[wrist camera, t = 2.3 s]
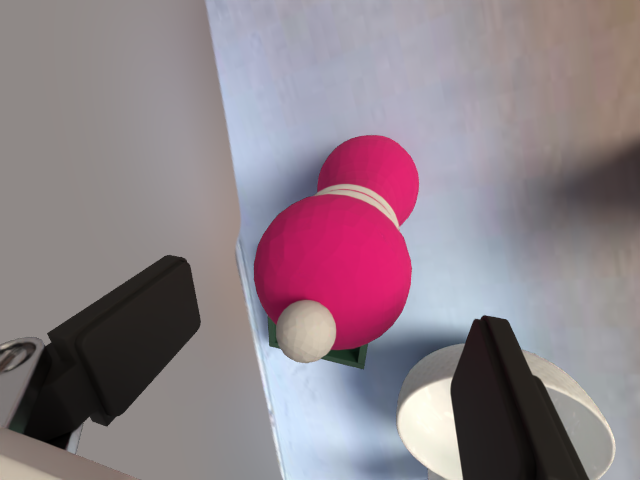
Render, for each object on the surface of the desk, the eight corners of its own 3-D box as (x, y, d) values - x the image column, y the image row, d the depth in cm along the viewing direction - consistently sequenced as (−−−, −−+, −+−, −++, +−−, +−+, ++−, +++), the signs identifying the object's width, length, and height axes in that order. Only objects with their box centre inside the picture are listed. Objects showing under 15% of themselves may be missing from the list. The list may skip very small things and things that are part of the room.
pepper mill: (325, 136, 25) (136, 240, 7) (415, 121, 22) (438, 219, 5) (339, 215, 28) (225, 420, 10) (419, 209, 25) (443, 458, 8)
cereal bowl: (596, 326, 26) (655, 399, 20) (551, 439, 33) (583, 517, 27) (399, 308, 31) (397, 362, 24) (396, 410, 38) (394, 472, 32)
